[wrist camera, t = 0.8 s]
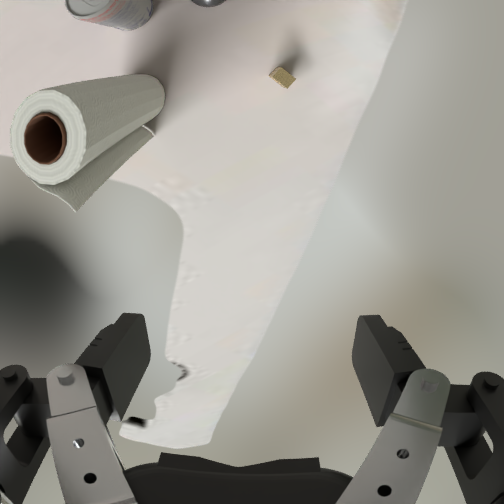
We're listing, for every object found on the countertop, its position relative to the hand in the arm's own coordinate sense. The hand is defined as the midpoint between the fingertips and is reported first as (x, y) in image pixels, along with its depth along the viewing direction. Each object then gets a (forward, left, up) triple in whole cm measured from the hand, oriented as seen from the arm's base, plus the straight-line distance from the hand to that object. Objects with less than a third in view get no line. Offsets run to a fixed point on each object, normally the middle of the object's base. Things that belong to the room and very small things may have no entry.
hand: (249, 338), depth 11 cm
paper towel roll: (-13, -3, -30) cm, 33 cm away
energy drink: (-21, +6, -30) cm, 37 cm away
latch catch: (-2, +9, -30) cm, 31 cm away
